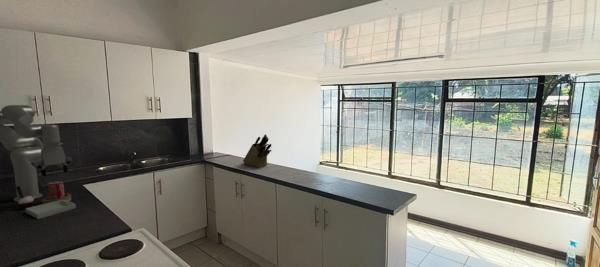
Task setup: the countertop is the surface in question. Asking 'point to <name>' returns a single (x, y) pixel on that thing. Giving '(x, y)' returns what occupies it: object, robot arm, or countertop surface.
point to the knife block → (258, 153)
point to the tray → (50, 208)
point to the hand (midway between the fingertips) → (55, 174)
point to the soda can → (56, 190)
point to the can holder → (46, 199)
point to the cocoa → (24, 200)
